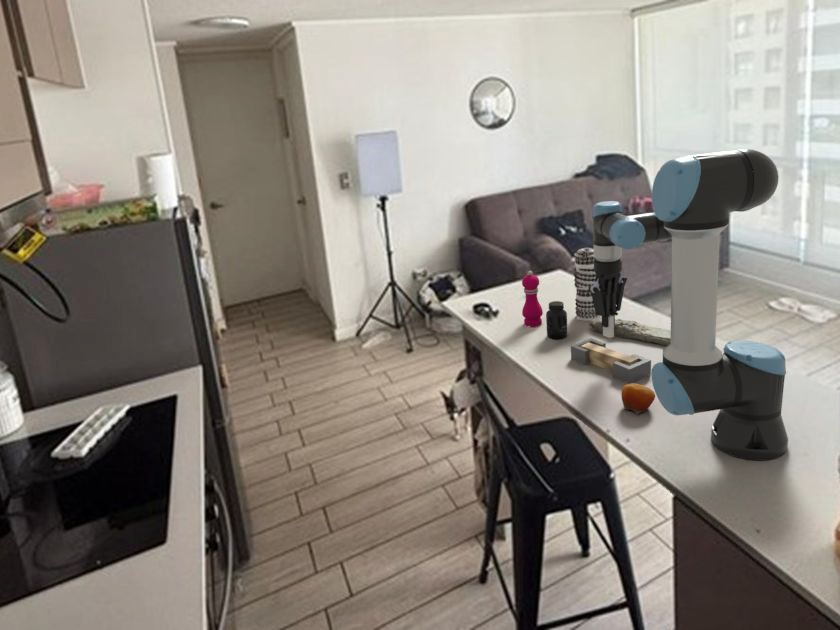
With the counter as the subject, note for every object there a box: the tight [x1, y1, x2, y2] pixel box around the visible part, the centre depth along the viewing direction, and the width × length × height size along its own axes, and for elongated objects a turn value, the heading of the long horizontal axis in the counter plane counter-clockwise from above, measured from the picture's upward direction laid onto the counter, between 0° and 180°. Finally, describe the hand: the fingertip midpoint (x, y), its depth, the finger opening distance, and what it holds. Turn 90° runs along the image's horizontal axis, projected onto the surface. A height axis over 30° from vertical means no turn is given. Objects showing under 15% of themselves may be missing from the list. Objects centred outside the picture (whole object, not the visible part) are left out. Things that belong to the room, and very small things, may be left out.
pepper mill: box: [521, 270, 544, 328], centre depth 215 cm, size 7×7×20 cm
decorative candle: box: [573, 247, 601, 322], centre depth 214 cm, size 9×9×25 cm
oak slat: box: [581, 342, 638, 372], centre depth 179 cm, size 18×4×5 cm, turn 34°
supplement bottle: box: [545, 300, 568, 341], centre depth 203 cm, size 7×7×12 cm
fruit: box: [621, 382, 656, 417], centre depth 154 cm, size 8×8×8 cm
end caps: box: [570, 337, 652, 385], centre depth 179 cm, size 23×8×4 cm, turn 29°
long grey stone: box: [589, 317, 671, 347], centre depth 197 cm, size 35×5×10 cm
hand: (608, 335), depth 176 cm, fingers closed
